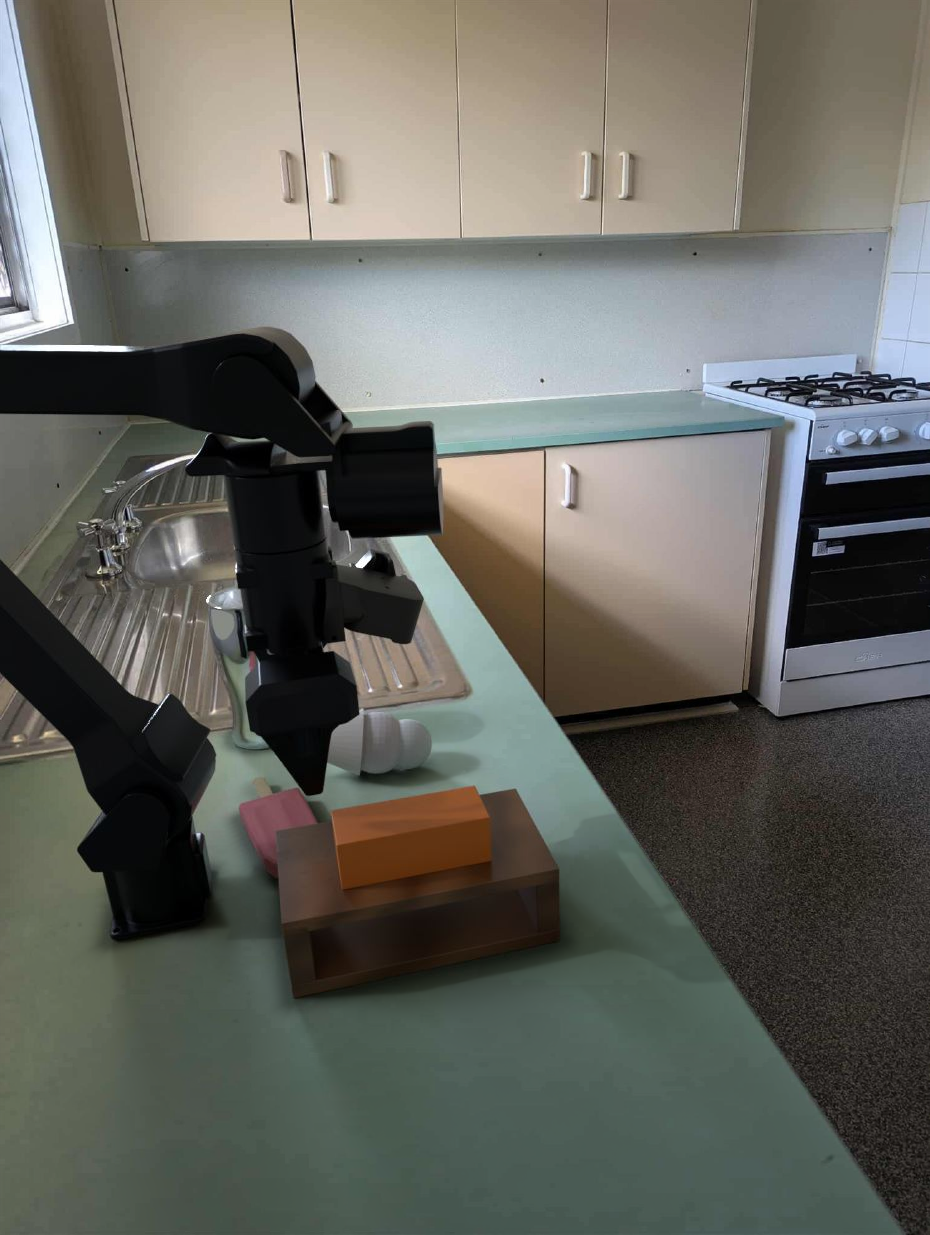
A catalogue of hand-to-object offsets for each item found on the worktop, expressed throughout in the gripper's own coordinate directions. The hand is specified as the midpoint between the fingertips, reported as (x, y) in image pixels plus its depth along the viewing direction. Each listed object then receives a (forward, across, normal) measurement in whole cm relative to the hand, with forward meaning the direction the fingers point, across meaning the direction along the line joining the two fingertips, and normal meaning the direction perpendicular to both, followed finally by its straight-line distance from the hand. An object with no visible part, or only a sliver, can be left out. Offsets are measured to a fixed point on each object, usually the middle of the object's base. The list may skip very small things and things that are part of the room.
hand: (309, 758), depth 60 cm
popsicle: (+12, +10, +3) cm, 16 cm away
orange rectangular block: (+6, -5, -6) cm, 10 cm away
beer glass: (+12, +27, +4) cm, 30 cm away
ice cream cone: (+12, +17, -4) cm, 21 cm away
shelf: (+12, -4, -6) cm, 14 cm away
